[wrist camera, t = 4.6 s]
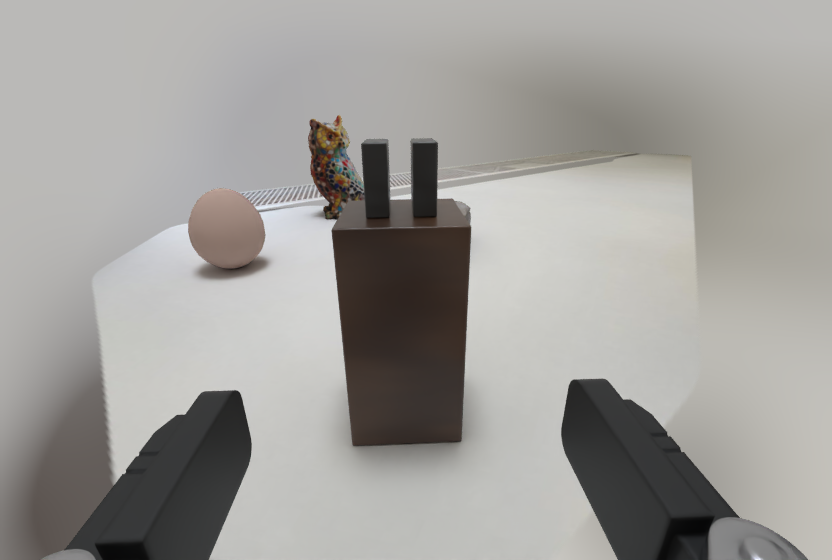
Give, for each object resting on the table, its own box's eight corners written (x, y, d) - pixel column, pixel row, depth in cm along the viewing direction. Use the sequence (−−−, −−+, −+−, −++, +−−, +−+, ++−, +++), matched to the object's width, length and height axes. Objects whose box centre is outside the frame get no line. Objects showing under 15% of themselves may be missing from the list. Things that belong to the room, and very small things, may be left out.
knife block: (448, 375, 24) (455, 136, 19) (461, 441, 19) (475, 144, 14) (361, 378, 24) (342, 137, 19) (352, 446, 19) (323, 146, 14)
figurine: (363, 221, 60) (356, 114, 54) (307, 219, 61) (295, 115, 55) (377, 208, 68) (372, 114, 62) (327, 207, 69) (318, 115, 63)
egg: (232, 253, 47) (218, 181, 43) (283, 259, 44) (272, 184, 41) (182, 274, 40) (160, 193, 37) (238, 283, 38) (220, 197, 35)
